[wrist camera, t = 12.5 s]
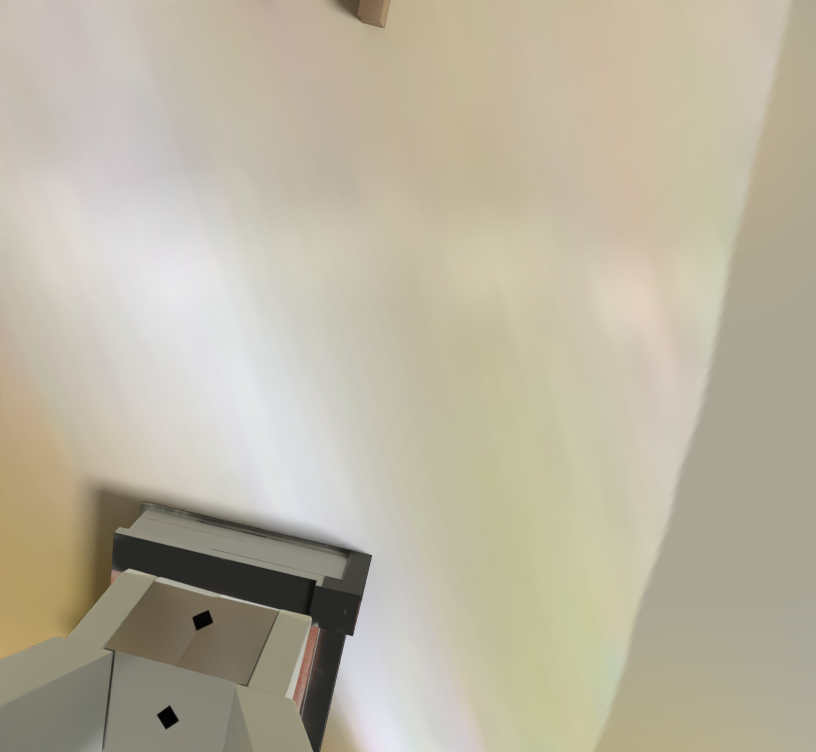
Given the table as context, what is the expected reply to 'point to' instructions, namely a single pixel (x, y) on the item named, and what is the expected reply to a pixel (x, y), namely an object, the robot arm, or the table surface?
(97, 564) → the table surface
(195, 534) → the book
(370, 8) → the trap lane
